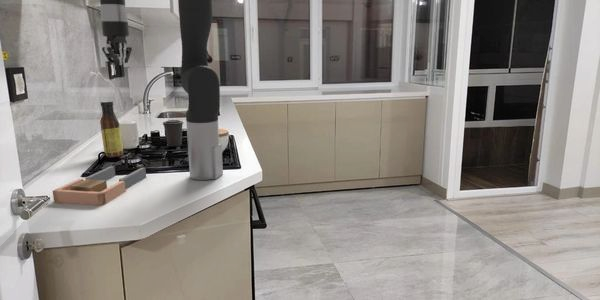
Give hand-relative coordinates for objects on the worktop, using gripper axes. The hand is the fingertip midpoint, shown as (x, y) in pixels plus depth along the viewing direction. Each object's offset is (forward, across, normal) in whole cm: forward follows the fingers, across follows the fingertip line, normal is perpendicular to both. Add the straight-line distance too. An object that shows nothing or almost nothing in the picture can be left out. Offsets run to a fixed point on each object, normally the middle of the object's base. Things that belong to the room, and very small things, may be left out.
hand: (120, 77), depth 133 cm
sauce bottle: (+29, +10, +12) cm, 33 cm away
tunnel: (+29, -18, -7) cm, 35 cm away
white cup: (+29, +24, +14) cm, 40 cm away
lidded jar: (+29, +22, -22) cm, 43 cm away
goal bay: (+29, -30, -7) cm, 42 cm away
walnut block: (+29, -30, -7) cm, 43 cm away
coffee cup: (+29, +30, -2) cm, 42 cm away
